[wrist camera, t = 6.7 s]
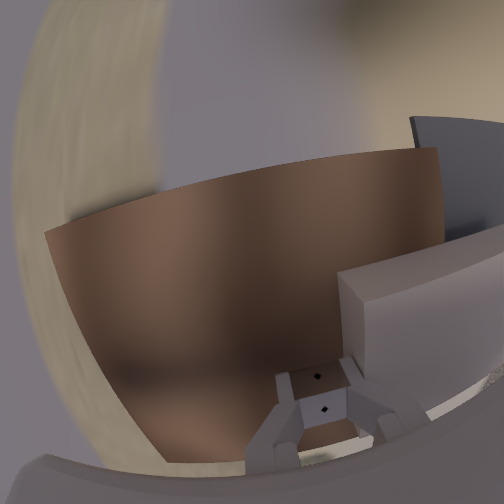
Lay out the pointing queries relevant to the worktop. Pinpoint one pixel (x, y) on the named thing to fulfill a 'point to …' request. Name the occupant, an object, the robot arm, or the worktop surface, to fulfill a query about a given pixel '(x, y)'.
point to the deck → (237, 288)
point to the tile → (427, 318)
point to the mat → (466, 170)
